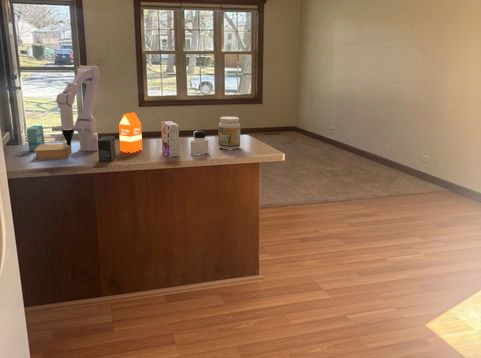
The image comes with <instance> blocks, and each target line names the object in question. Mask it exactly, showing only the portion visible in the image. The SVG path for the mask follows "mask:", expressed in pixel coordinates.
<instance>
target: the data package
mask: <svg viewBox="0 0 481 358" xmlns="http://www.w3.org/2000/svg"><path fill="white" fill-rule="evenodd" d="M44 135H45V134H44V127H43V125H32V126H30V127H28V128H27V129H26V136H27V143H28V145H27V146H28V150H29V152H34V150H35V149H36V148H37V147H38V146H39V145H41V144H45V137H44Z"/></svg>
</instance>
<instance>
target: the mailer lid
mask: <svg viewBox="0 0 481 358" xmlns="http://www.w3.org/2000/svg"><path fill="white" fill-rule="evenodd" d="M69 146H70V145H67V141H66V140H64V142H63V143H53V144H52V143H51V144H50V143H48V144H45V143H44V144H41V145H39V146H38V147H37V148H36V149H35V150H34V151H33V152H34V153H36V152H43V151H66V150H67V149H68V148H69Z"/></svg>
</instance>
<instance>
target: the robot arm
mask: <svg viewBox="0 0 481 358" xmlns="http://www.w3.org/2000/svg"><path fill="white" fill-rule="evenodd" d="M100 77H101V71H100V68H99V67H98V66H97V65H79V66H78V67H77V68H76V75H75V77H74V79H73V81H72V82H69V83H67V85H66V87H65V88H64V90H63V91H62V92H59V93H58V94H57V95H56V99H55V101H56V103H57V105H58V108H59V113H60V114H59V115H60V125H61V126H52V127H51V131H52V132H57V131H58V132H61V133H62V134H61V135H63V137H64V139H65V141H67V145H71V146H72V139H73V135H74V133H75V131H76V132H77V134H78V138H79V149H78V151H79V152H85V151H87V152H90V151H91V152H92V151H95V152H96V151H98V140H99V135H98V133H97V132H96V131H97V118H96V117H94V116H93V113H94V107H95V101H96V94H97V89H98V84H99V83H100V81H99V80H100ZM81 84H85V85H86V87H85V94H84V98H83V105H82V110H81V114H79V116H77V117H76V121H75V123H74V112H73V105H74V103H75V99H76V95H77V94H78V93H79V91H80V86H81Z"/></svg>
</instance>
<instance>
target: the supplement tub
mask: <svg viewBox="0 0 481 358" xmlns="http://www.w3.org/2000/svg"><path fill="white" fill-rule="evenodd" d="M219 121H220V122H219V123H218V135H217V136H218V142H217V144H218V145H217V146H218V148H219V147H220V148H223V149H222V150H224V149H235V150H238V149H240V148H239V147H241V123H240V118H239V117H238V116H221V117H220V118H219ZM237 148H238V149H237Z"/></svg>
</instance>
